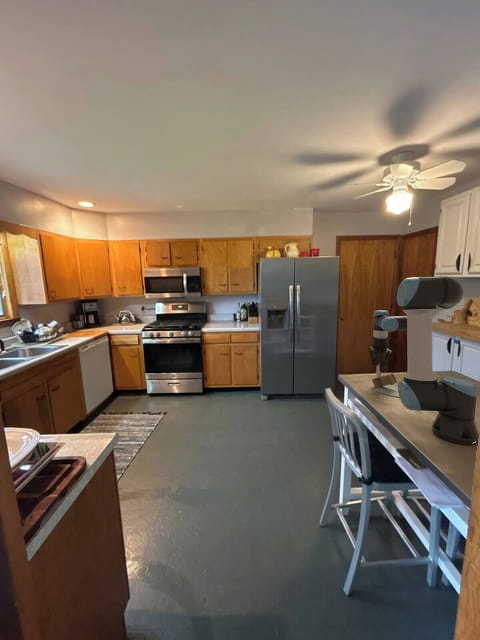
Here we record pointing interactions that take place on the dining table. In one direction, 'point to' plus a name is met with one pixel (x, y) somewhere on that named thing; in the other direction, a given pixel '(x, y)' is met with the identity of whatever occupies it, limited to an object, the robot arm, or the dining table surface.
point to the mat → (388, 390)
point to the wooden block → (384, 380)
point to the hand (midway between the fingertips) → (378, 376)
